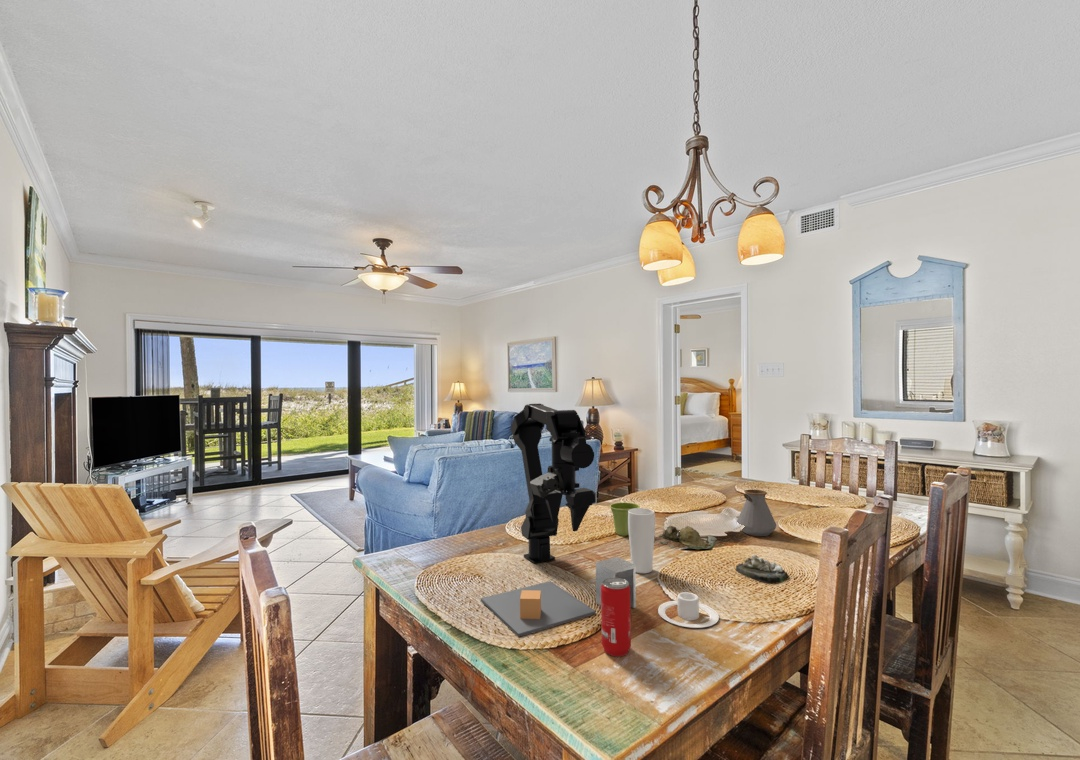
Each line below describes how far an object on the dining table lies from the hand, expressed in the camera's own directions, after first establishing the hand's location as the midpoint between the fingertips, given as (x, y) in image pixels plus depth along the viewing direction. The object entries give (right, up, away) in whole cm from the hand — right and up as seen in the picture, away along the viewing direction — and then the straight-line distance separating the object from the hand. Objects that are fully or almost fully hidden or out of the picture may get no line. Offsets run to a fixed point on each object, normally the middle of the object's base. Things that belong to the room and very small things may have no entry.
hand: (564, 526), depth 121 cm
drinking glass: (+20, -13, +6) cm, 24 cm away
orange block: (-8, -13, -19) cm, 24 cm away
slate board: (-7, -13, -14) cm, 20 cm away
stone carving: (+49, -13, +3) cm, 51 cm away
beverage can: (+8, -13, -31) cm, 35 cm away
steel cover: (+10, -13, -14) cm, 21 cm away
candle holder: (+24, -13, -18) cm, 33 cm away
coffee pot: (+59, -13, +32) cm, 68 cm away
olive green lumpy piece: (+39, -13, +29) cm, 50 cm away
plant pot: (+21, -13, +36) cm, 44 cm away
